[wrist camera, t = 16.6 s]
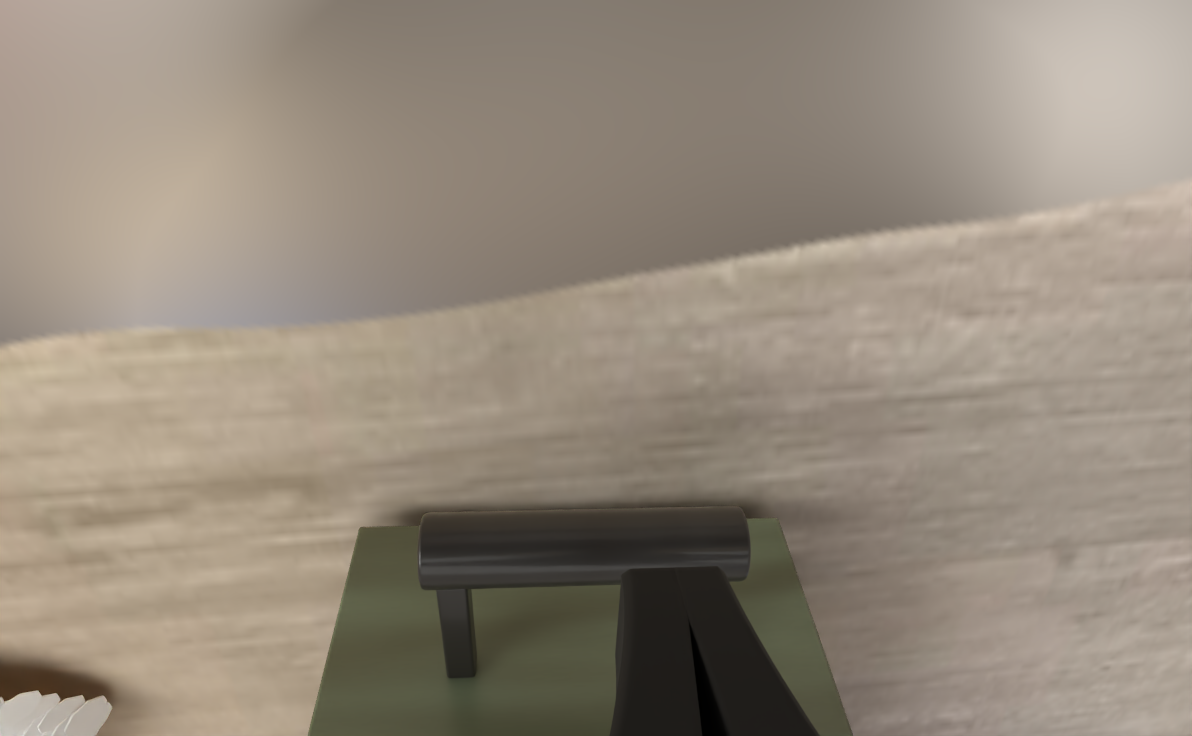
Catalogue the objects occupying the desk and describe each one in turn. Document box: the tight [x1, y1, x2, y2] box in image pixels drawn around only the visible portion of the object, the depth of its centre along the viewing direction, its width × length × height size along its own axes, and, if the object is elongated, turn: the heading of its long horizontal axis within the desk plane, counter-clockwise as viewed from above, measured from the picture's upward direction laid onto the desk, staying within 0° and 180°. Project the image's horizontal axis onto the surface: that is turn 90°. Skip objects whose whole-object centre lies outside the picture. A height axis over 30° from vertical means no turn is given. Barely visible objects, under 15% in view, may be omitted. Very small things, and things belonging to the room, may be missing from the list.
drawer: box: [308, 506, 853, 736], centre depth 20 cm, size 16×11×6 cm, turn 178°
